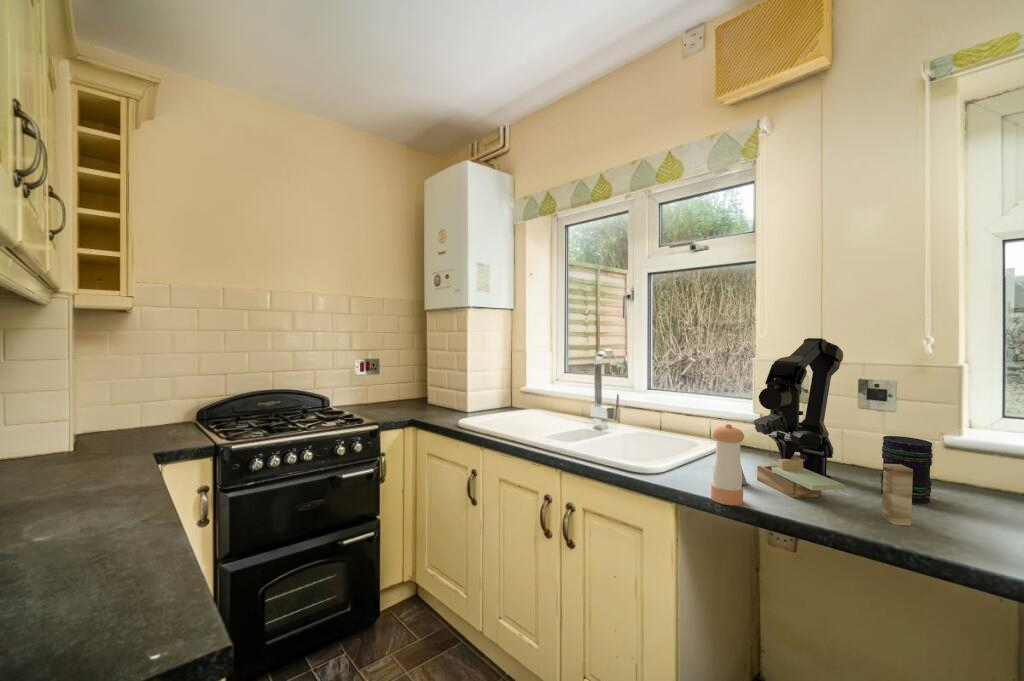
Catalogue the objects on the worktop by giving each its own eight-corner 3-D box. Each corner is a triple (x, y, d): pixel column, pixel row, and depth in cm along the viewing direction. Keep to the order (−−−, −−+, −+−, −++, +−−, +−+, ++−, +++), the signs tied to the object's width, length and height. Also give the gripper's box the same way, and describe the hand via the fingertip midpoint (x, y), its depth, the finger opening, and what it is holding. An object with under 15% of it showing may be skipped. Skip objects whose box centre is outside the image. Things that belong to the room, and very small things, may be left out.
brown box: (881, 517, 104) (883, 463, 104) (899, 518, 104) (900, 464, 103) (893, 524, 100) (895, 468, 100) (911, 525, 100) (913, 469, 100)
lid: (799, 470, 124) (800, 457, 124) (844, 489, 110) (844, 474, 110) (771, 471, 123) (771, 458, 123) (812, 490, 109) (812, 475, 109)
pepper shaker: (706, 500, 113) (708, 424, 113) (716, 492, 119) (718, 420, 118) (737, 508, 108) (739, 428, 108) (746, 500, 114) (748, 424, 113)
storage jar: (931, 497, 117) (933, 440, 117) (931, 508, 110) (933, 447, 110) (881, 488, 124) (883, 433, 124) (878, 497, 117) (880, 440, 117)
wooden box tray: (782, 479, 130) (783, 465, 130) (821, 496, 117) (821, 481, 116) (756, 479, 130) (757, 465, 129) (792, 497, 116) (793, 482, 116)
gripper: (738, 400, 132) (737, 454, 132) (783, 412, 113) (781, 474, 114) (774, 400, 133) (772, 453, 133) (824, 412, 115) (822, 473, 115)
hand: (785, 463), depth 124 cm, fingers closed
